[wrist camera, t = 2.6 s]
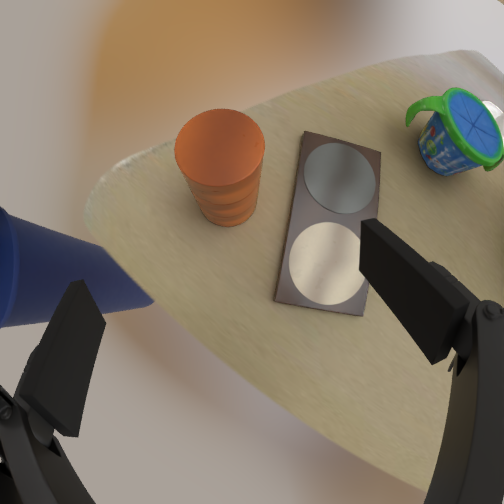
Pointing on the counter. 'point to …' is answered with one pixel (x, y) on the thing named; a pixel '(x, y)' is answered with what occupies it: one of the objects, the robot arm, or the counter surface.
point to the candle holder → (496, 116)
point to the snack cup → (458, 133)
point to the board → (328, 225)
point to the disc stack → (222, 164)
